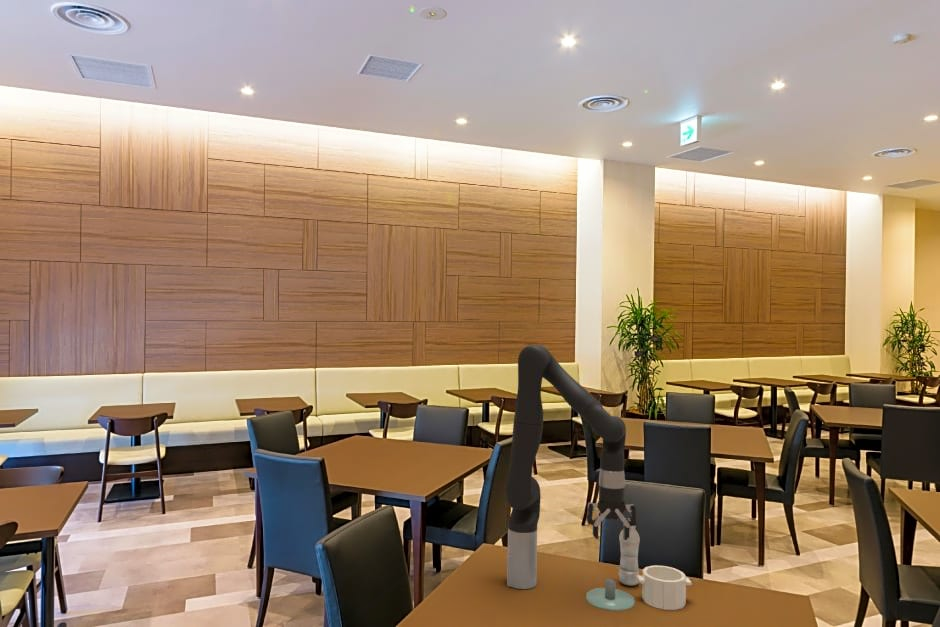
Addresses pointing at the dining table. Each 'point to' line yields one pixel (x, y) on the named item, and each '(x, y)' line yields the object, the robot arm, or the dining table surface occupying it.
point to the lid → (610, 597)
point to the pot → (664, 587)
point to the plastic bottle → (629, 557)
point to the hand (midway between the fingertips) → (610, 538)
